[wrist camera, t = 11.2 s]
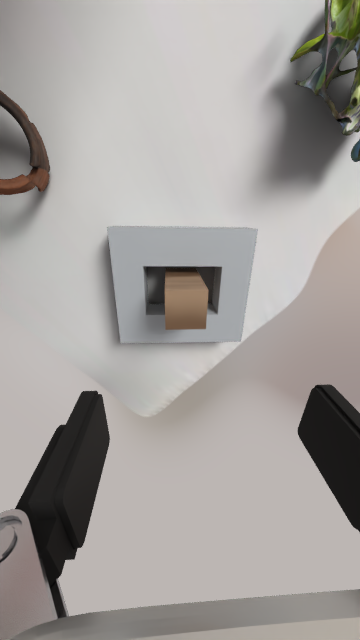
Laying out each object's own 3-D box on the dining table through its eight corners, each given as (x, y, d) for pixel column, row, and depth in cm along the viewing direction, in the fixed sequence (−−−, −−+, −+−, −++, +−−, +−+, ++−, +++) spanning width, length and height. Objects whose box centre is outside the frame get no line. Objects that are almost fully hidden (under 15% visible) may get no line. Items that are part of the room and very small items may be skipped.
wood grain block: (165, 267, 29) (164, 290, 20) (195, 267, 29) (208, 290, 20) (166, 296, 31) (165, 329, 22) (194, 296, 31) (205, 329, 22)
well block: (115, 225, 26) (107, 227, 23) (245, 227, 27) (257, 229, 24) (125, 329, 32) (120, 343, 29) (232, 328, 33) (240, 341, 30)
